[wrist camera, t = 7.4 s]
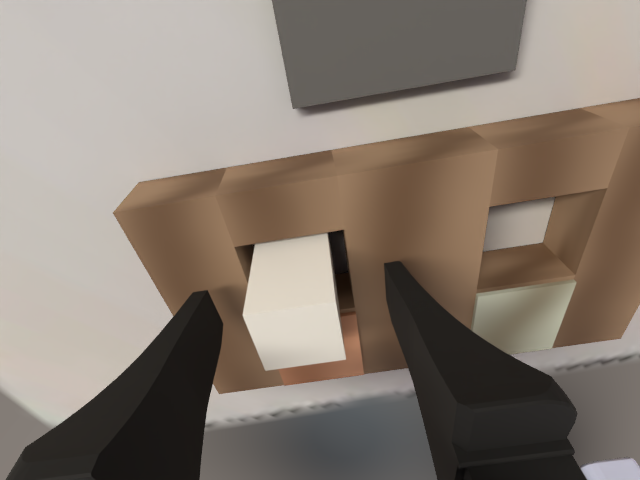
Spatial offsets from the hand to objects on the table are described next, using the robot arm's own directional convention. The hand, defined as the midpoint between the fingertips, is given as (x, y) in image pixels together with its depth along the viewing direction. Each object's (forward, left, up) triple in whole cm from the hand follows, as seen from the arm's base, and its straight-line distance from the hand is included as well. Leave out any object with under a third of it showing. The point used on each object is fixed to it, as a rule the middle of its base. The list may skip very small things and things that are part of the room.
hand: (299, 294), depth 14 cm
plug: (0, 0, -3) cm, 4 cm away
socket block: (-5, -1, -3) cm, 6 cm away
